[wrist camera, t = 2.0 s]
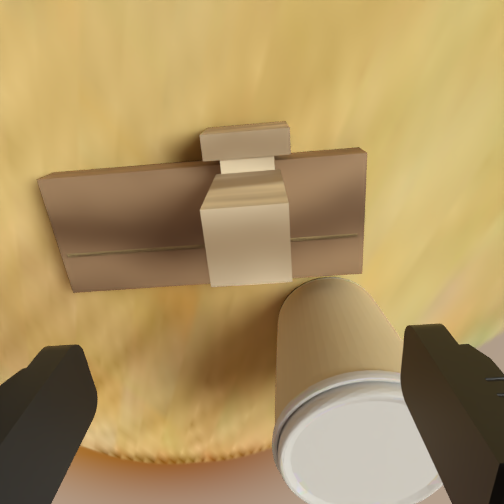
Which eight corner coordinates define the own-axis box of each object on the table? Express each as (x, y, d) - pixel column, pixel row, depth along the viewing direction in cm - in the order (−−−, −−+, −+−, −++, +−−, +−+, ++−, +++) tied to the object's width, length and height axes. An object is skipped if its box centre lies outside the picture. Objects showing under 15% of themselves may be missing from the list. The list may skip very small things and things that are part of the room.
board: (53, 172, 25) (36, 179, 23) (358, 147, 24) (367, 152, 22) (85, 278, 28) (73, 292, 26) (355, 260, 27) (362, 273, 25)
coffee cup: (246, 339, 30) (240, 486, 19) (306, 245, 27) (340, 359, 16) (344, 381, 32) (389, 538, 21) (413, 298, 28) (510, 434, 17)
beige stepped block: (207, 128, 23) (176, 156, 14) (285, 121, 23) (302, 145, 14) (224, 264, 27) (208, 352, 18) (291, 259, 27) (307, 346, 18)
